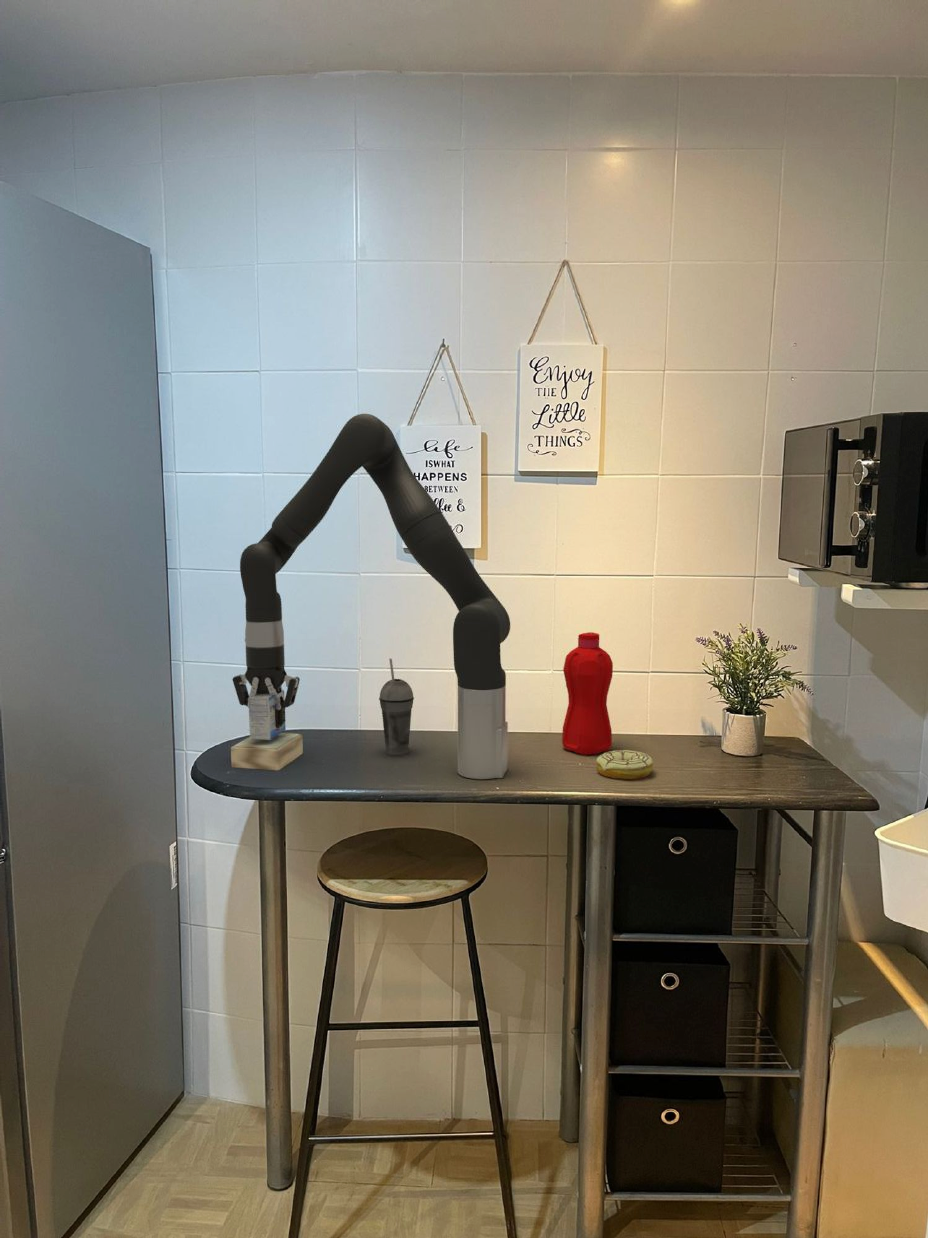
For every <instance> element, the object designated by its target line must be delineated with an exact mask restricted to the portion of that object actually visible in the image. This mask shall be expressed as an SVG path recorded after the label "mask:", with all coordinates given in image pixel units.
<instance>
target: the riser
mask: <svg viewBox="0 0 928 1238" xmlns="http://www.w3.org/2000/svg"><path fill="white" fill-rule="evenodd" d="M303 743H304V742H303V734H300V733H291V732H290V733H288V732H287V733H286V732H282V733H280V734H279V735H277V736H276V737H274V738H273V739H271V740H258V739H250V736H248V737H247V738H245V739H243V740H241V741H239V742H238V743H236V744H233V746H231V747H230V758H231V759H230V760H231V768H237V769H238V768H239V769H252V770H268V771H281V769H283V768H284V767H286V766H287V765H289V764H290V763H291V762H293V761H294V760H296V759H297V758H298V757H300V756H302V754H303V753H304V751H303V750H304V747H303V745H304V744H303Z"/></svg>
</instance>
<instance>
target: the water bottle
mask: <svg viewBox="0 0 928 1238" xmlns="http://www.w3.org/2000/svg"><path fill="white" fill-rule="evenodd" d="M613 667H614V664H613V660H612V658H611V655H610V654H609V653H608V652H607V651H606V650H604V649H603V648H601V647H600V634H599V633H597V632H592V631H590V632H589V631H588V632H583V633H580V634H578V638H577V647H575V648H573V649H572V650H570V652H568V653H567V655H566V656H565V659H564V664H563V669H562V671H563V675H564V680H565V686H566V689H567V693H568V694H567V695H568V696H567V697H568V698H567V699H568V705H567V710H566V713H565V718H564V721H563V725H562V733H561V734H562V735H561V736H562V737H561V744H562V747H563V748H564V749H565V750H567V751H570V752H574V753H577V754H579V755H582V756H583V755H585V756H592V755H596V754H600V753H606V752H609V750H610V749H611V748H612V744H613V743H612V742H613V738H612V736H613V735H612V733H613V731H612V726H611V721H610V716H609V711H608V706H607V705H608V704H607V703H608V694H609V690H610V686H611V682H612V679H613V670H614V668H613Z"/></svg>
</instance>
